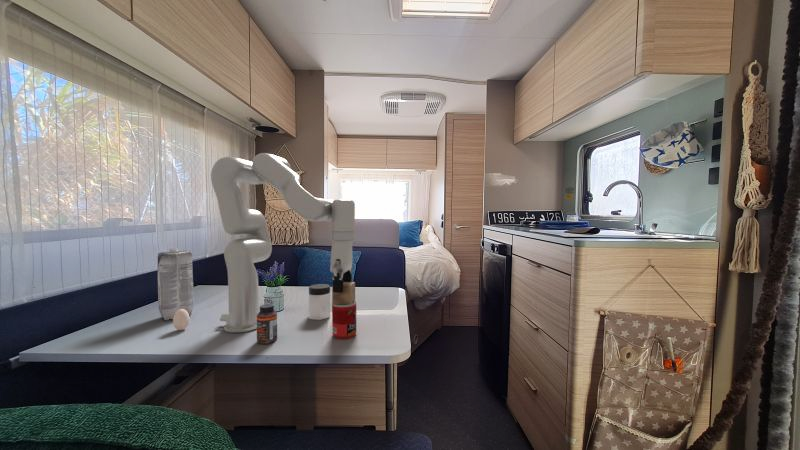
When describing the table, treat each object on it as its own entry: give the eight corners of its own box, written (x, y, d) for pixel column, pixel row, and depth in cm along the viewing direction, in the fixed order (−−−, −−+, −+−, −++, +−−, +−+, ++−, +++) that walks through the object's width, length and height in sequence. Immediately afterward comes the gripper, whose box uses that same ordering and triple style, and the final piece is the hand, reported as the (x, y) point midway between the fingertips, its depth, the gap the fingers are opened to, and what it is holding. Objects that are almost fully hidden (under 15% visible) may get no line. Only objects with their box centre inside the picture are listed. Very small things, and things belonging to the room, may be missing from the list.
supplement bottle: (252, 343, 93) (251, 307, 92) (265, 336, 98) (265, 302, 98) (268, 345, 91) (268, 308, 91) (281, 338, 97) (280, 303, 97)
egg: (169, 332, 102) (169, 311, 102) (179, 327, 107) (179, 307, 107) (183, 332, 102) (183, 311, 102) (193, 327, 107) (192, 306, 107)
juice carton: (195, 315, 120) (193, 248, 119) (161, 322, 112) (159, 250, 111) (189, 311, 126) (188, 246, 125) (157, 317, 118) (155, 249, 117)
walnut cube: (332, 304, 96) (332, 285, 96) (338, 299, 102) (337, 281, 102) (350, 304, 96) (350, 286, 96) (355, 299, 102) (355, 282, 102)
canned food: (351, 340, 95) (351, 305, 94) (328, 338, 96) (327, 304, 96) (359, 331, 102) (359, 299, 102) (337, 329, 104) (337, 298, 104)
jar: (314, 321, 112) (314, 289, 111) (304, 316, 118) (303, 286, 117) (335, 316, 118) (335, 285, 118) (324, 311, 124) (324, 282, 123)
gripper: (339, 235, 107) (339, 282, 108) (322, 238, 90) (322, 295, 91) (360, 235, 107) (360, 283, 107) (346, 239, 89) (346, 296, 90)
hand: (342, 288), depth 99 cm, fingers open, 9 cm apart
